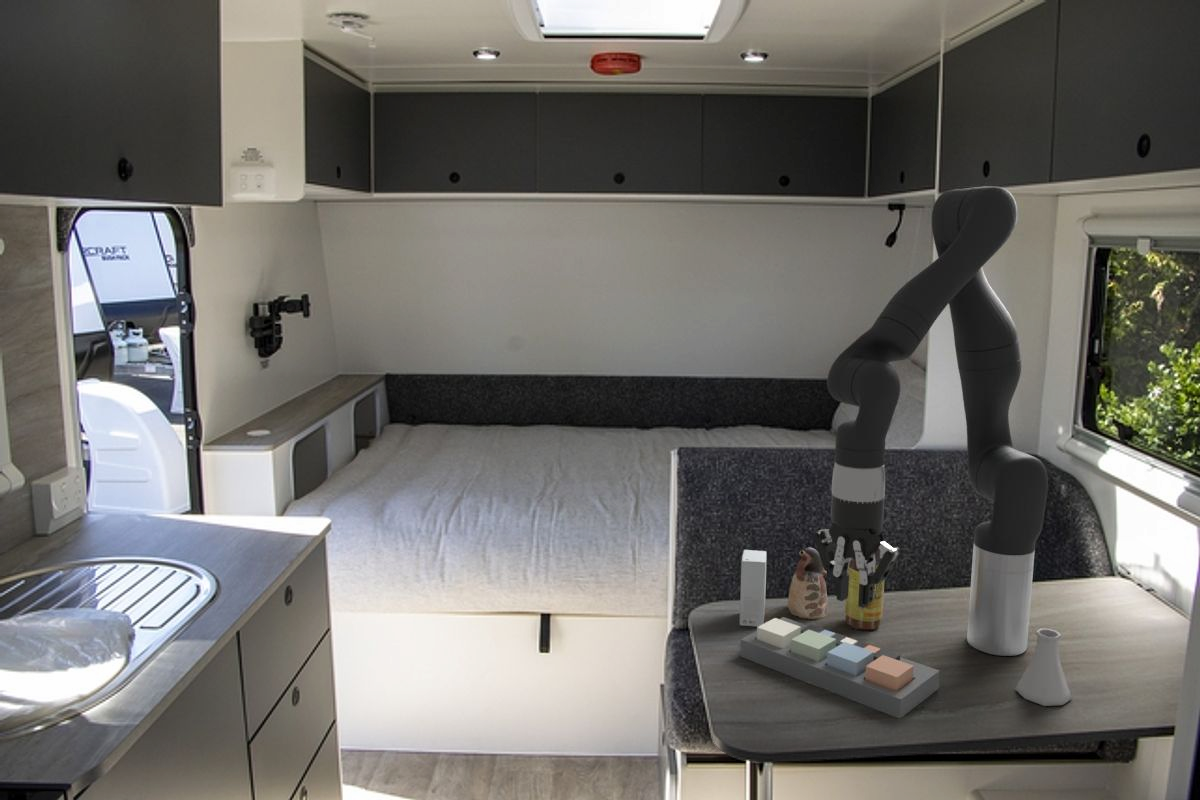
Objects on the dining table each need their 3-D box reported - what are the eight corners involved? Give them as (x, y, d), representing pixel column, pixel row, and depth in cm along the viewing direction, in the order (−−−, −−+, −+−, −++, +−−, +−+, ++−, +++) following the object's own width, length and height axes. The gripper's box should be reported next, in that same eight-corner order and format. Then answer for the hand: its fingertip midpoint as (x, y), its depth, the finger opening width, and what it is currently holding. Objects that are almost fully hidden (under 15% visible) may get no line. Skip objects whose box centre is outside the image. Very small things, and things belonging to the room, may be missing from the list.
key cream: (774, 631, 159) (775, 617, 159) (800, 641, 156) (800, 626, 155) (756, 641, 156) (757, 627, 155) (782, 651, 152) (783, 636, 152)
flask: (1005, 689, 145) (1010, 627, 143) (1041, 679, 148) (1046, 619, 146) (1044, 711, 138) (1050, 647, 136) (1081, 701, 141) (1087, 638, 139)
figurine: (836, 613, 172) (839, 550, 170) (807, 622, 169) (810, 557, 166) (808, 600, 178) (810, 538, 176) (779, 608, 175) (781, 546, 172)
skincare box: (764, 628, 167) (765, 562, 164) (739, 626, 167) (740, 561, 165) (765, 613, 172) (767, 550, 170) (741, 612, 173) (742, 549, 171)
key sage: (808, 643, 155) (808, 629, 154) (835, 653, 151) (836, 638, 151) (790, 654, 151) (791, 639, 151) (818, 664, 148) (818, 649, 147)
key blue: (844, 656, 150) (844, 641, 150) (873, 667, 147) (873, 651, 146) (826, 667, 147) (827, 652, 146) (856, 678, 143) (856, 662, 143)
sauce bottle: (868, 635, 163) (873, 523, 160) (837, 623, 168) (842, 515, 164) (889, 624, 168) (895, 515, 164) (858, 613, 172) (863, 507, 168)
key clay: (881, 670, 146) (882, 655, 145) (912, 681, 142) (913, 665, 142) (865, 681, 142) (865, 666, 142) (896, 693, 139) (897, 677, 138)
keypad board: (782, 633, 164) (783, 611, 164) (938, 688, 145) (940, 664, 144) (740, 656, 156) (740, 633, 155) (899, 718, 137) (901, 692, 136)
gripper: (914, 496, 139) (908, 608, 142) (829, 478, 149) (825, 583, 152) (889, 508, 134) (883, 623, 137) (803, 488, 144) (799, 597, 147)
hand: (852, 601), depth 145 cm, fingers open, 3 cm apart
